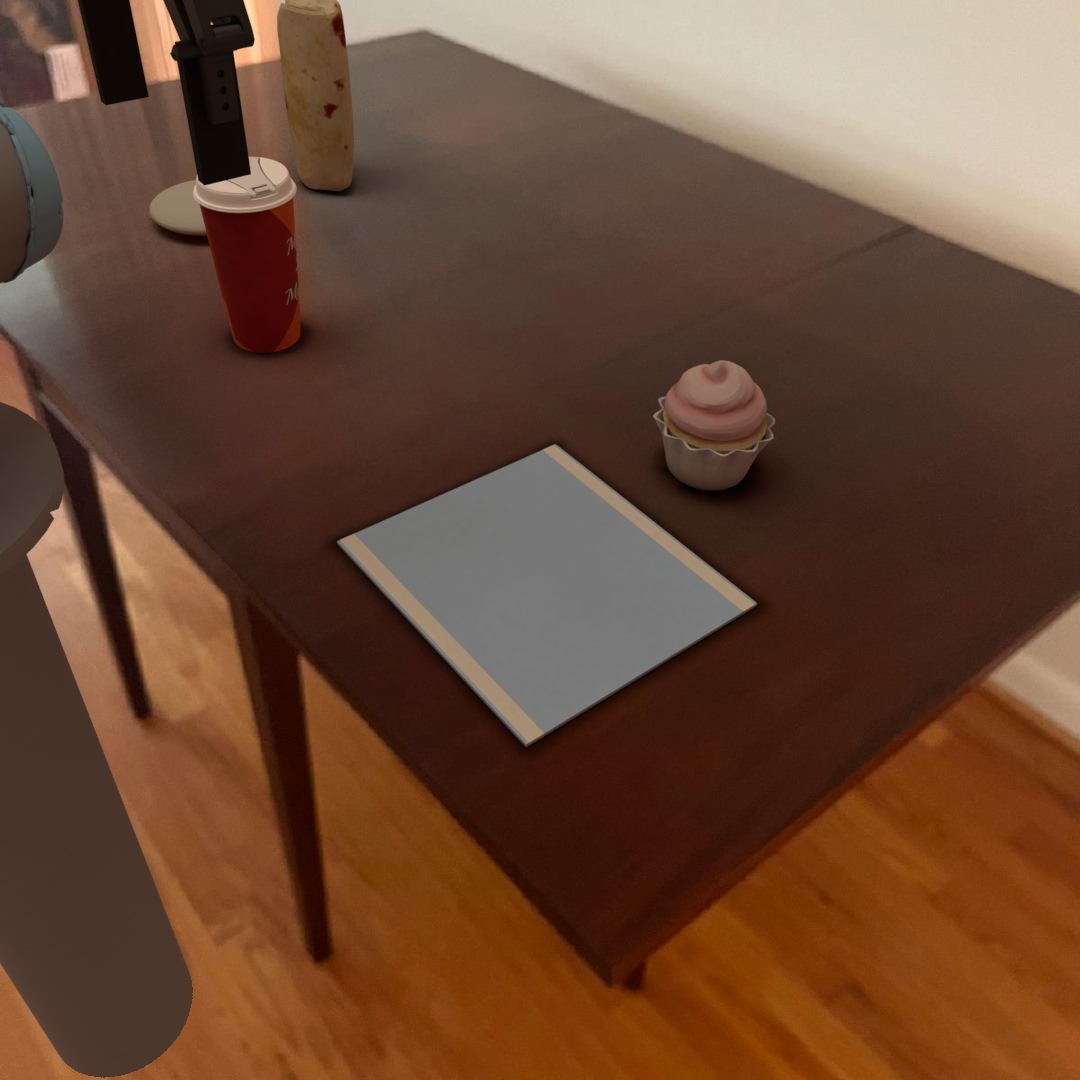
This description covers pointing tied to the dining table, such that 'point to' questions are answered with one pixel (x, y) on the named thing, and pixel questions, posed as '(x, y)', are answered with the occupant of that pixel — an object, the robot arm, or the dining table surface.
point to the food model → (317, 91)
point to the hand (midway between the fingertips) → (172, 136)
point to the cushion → (178, 210)
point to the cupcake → (713, 425)
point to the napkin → (544, 588)
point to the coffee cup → (255, 254)
